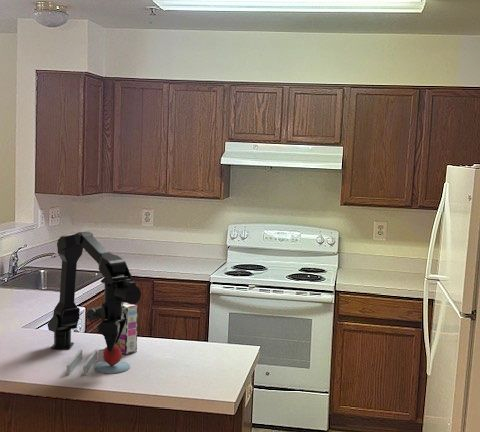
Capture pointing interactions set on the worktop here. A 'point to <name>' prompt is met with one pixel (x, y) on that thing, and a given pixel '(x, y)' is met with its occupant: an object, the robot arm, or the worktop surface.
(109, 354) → the onion
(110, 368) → the mat
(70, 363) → the low walls
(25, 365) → the worktop surface
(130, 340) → the candy bar box
